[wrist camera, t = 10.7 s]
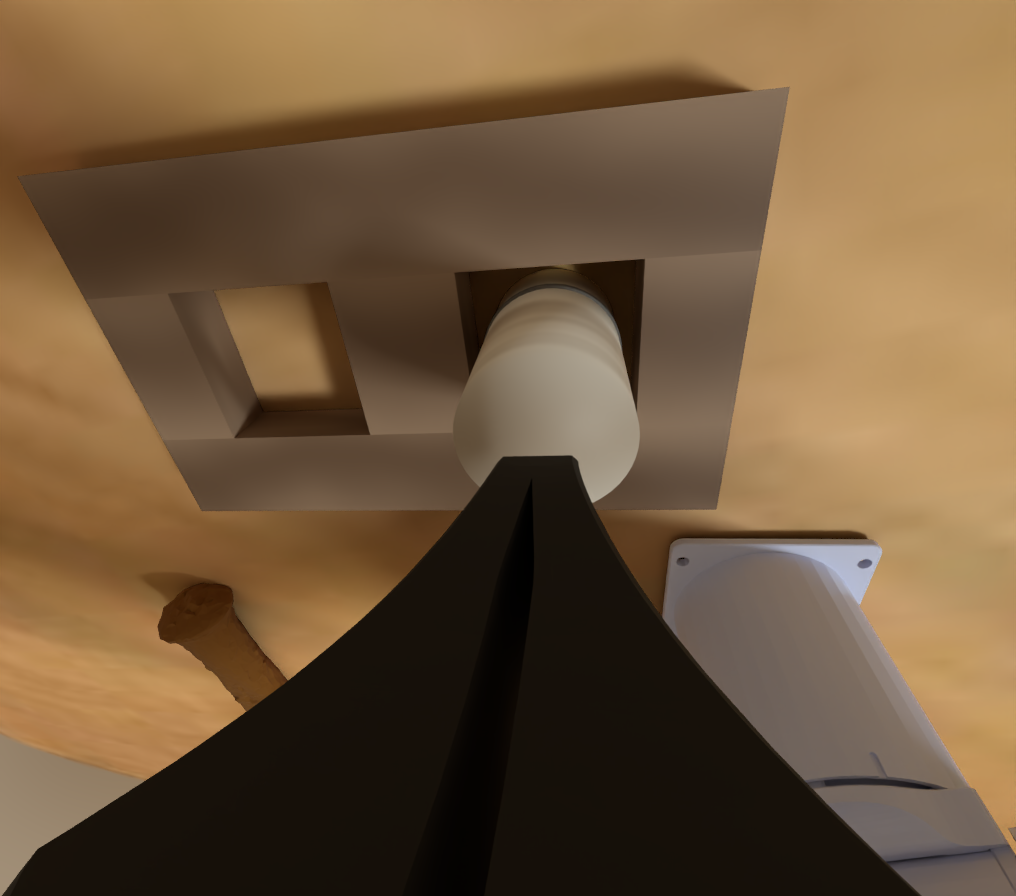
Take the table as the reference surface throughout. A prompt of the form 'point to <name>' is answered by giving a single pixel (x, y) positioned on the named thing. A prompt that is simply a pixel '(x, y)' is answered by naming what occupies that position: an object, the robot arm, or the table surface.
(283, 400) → the table surface
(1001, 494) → the table surface
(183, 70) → the table surface
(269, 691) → the primitive tool
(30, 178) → the board
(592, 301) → the peg
